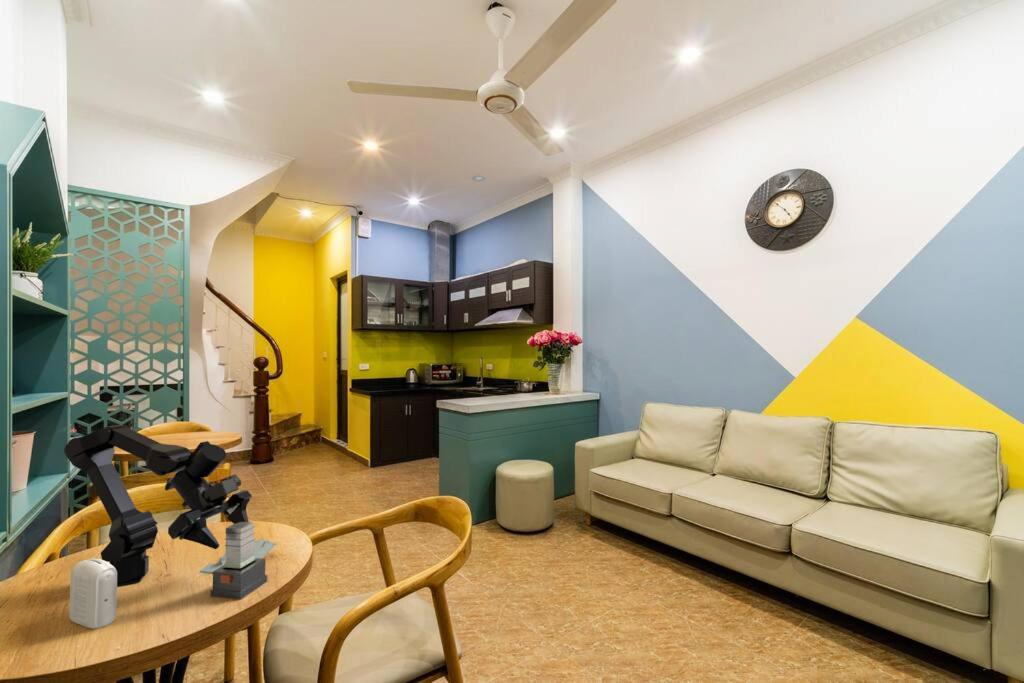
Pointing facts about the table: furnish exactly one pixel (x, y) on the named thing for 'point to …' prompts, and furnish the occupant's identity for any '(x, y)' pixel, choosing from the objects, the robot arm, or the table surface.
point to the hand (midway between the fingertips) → (234, 539)
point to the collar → (238, 580)
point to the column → (239, 545)
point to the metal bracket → (259, 552)
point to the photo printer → (93, 593)
